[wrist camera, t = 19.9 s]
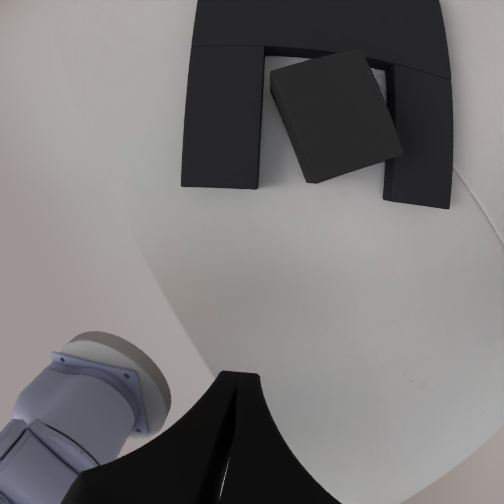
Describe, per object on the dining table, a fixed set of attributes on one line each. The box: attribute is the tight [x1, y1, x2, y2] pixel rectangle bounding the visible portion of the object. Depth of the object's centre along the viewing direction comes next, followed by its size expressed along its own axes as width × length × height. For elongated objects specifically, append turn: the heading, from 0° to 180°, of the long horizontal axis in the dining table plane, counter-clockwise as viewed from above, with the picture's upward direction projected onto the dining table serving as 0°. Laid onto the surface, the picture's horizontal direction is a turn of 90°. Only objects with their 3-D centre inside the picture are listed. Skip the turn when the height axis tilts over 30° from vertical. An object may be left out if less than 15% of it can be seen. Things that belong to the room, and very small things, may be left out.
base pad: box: [181, 0, 453, 209], centre depth 15 cm, size 16×16×2 cm
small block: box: [270, 48, 404, 184], centre depth 15 cm, size 6×5×4 cm
